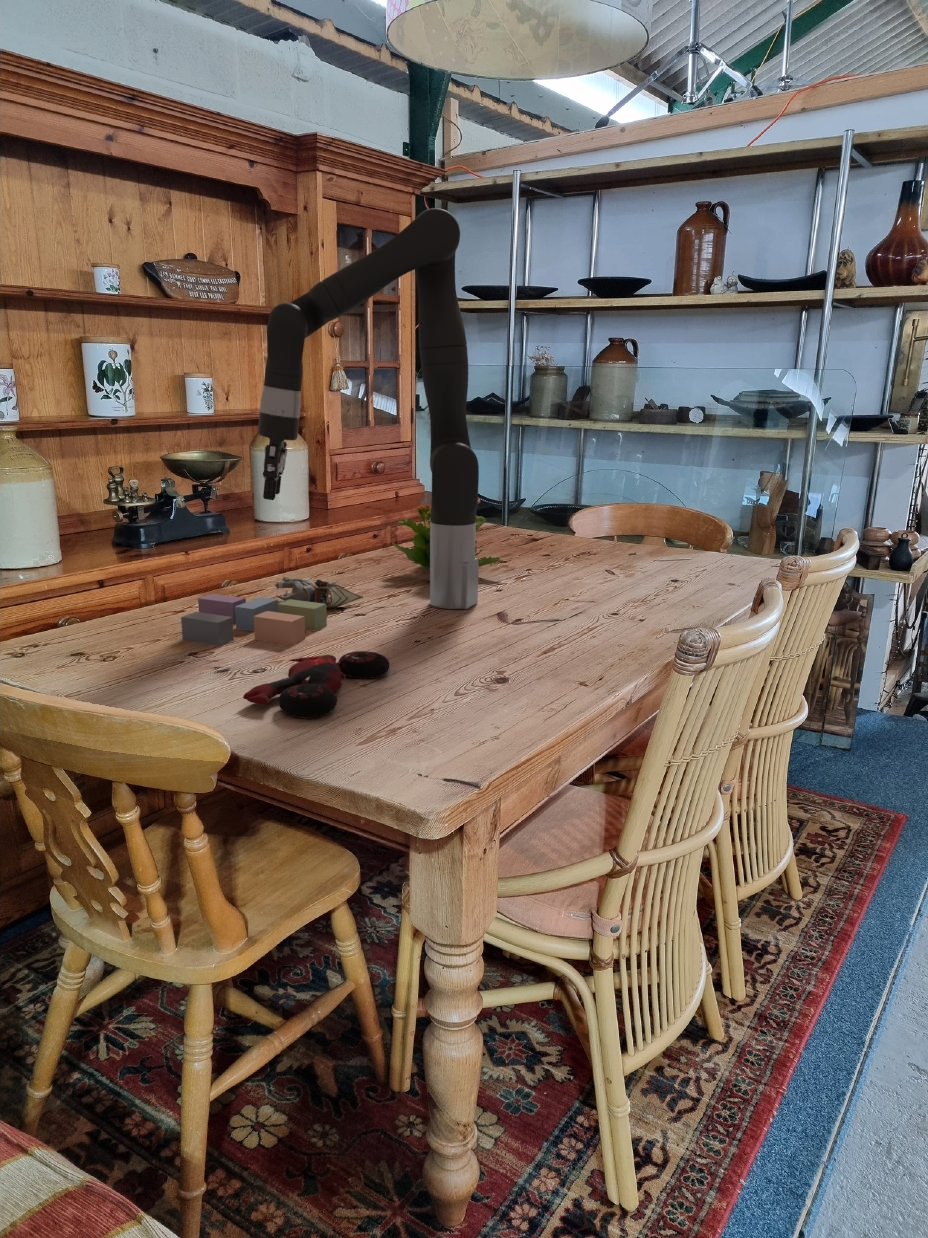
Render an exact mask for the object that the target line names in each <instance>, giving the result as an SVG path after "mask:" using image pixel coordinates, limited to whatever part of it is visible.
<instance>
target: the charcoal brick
mask: <svg viewBox="0 0 928 1238" xmlns="http://www.w3.org/2000/svg"><path fill="white" fill-rule="evenodd" d="M180 619H181V622H180V623H181V633H182V635H181V636H182V641H186V642H192V643H199V644H203V645H204V644H205V645H210V646H217V647H221V646H223V645H226V644H228V643H230V642H233V641H235V637H234V625H233V617H228V616H221V615H215V614H208V613H201V612H199V611H195V612H192V613H188V614H186V615H183V616H181V617H180Z"/></svg>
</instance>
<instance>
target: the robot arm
mask: <svg viewBox="0 0 928 1238" xmlns="http://www.w3.org/2000/svg"><path fill="white" fill-rule="evenodd" d="M460 238H461V230H460V225H459V223H458V220H457V218H455V216H454V215H453V214H452V213H451V212H449V211H448V210H447V209H446V210H445V209H442V208H437V207H435V208H434V207H432V208H428V209H425V210H423V211H422V212H420V213H419V214H418V215H417V216H416V217H415V219H414V220H413V221H411V223H409V224H408V225H406V226H405V227H404V228H403V229H402V230H401V231H400V232H399V233H397V234H396V235H395V236H393V237H392V238H390V239H389V240H388V241H387V242H385V243H384V244H382V245H381V246H379V247H377V248H376V249H375V250H373V251H371V252H369V253H367V254H366V255H364V256H362V257H361V258H359V259H357V260H355V261H353V262H352V263H350V264H348V265H347V266H345V267H342V268H340V269H339V270H337V271H336V272H334V273H332V274H330V275H329V276H327V277H326V278H324V279H322V280H320V281H319V282H317V283H316V284H315V285H313V286H312V288H310V290H308V292H306V293H305V294H302V295H300V296H299V297H296V299H294V300H292V301H289V302H282V303H279V304H277V305H275V306H274V307H273V309H272V310H271V311H270V313H269V316H268V321H267V332H266V333H267V335H266V336H267V337H266V338H267V339H266V340H267V341H266V342H267V343H266V344H267V345H266V346H267V347H266V350H267V351H266V355H267V357H266V363H265V368H264V378H263V379H264V380H263V382H264V383H263V388H262V393H261V398H260V407H259V415H258V426H257V434H258V435H259V436H260V437H265V438H268V439H269V443H268V444H266V446H265V447H264V460H263V471H262V477H263V479H264V483H263V494H262V497H263V499H264V500H268V501H274V500H275V499H276V495H279V494H280V492H281V483H282V476H283V475H284V470H285V468H286V463H287V462H286V460H287V455H288V448H287V445H288V444H287V441H296V440H297V439H298V435H299V426H300V415H301V408H302V407H301V406H302V398H301V397H302V396H301V395H302V386H303V385H302V383H303V374H304V365H303V355H304V347H305V341H306V338H308V337H310V336H311V335H313V334H314V333H316V332H317V331H318V330H319V329H321V328H323V326H325V325H327V324H328V323H330V322H332V321H333V320H337V319H338V318H340V317H341V316H343V315H345V314H347V313H349V312H350V311H352V310H354V309H355V308H357V307H358V306H360V305H362V304H363V303H365V302H367V301H368V300H369V299H370V298H372V297H373V296H375V295H376V294H378V293H379V292H380V291H382V290H383V289H384V288H385V287H387V286H388V285H390V284H391V283H393V282H394V281H396V280H398V279H399V278H401V277H402V276H404V275H406V274H408V273H410V272H412V271H414V272H415V273H414V274H415V279H416V285H417V291H418V293H417V294H418V346H419V358H420V367H421V368H420V369H421V375H422V376H421V377H422V380H423V381H422V382H423V383H422V384H423V388H424V393H425V394H424V395H425V398H426V403H427V408H428V413H429V418H430V419H429V422H430V450H429V451H430V452H429V453H430V454H429V455H430V456H429V457H430V458H429V467H430V471H431V505H430V506H431V511H430V514H431V517H430V520H431V522H430V525H431V529H430V570H429V604H430V605H431V606H432V607H434V608H438V609H447V610H448V609H449V610H460V609H463V610H468V609H469V608H472V607H473V606H474V605H476V604H478V603H479V601H478V597H479V596H478V595H479V594H478V593H479V566H478V562H479V560H478V559H479V558H478V557H476V556H475V554H476V553H475V546H476V545H475V541H476V535H477V534H476V533H477V532H476V525H477V522H476V515H477V511H478V503H479V502H478V501H479V483H480V482H479V481H480V480H479V479H480V478H479V475H480V471H479V469H480V466H479V461H478V460H479V459H478V457H477V455H476V453H475V451H474V450H473V449H472V446H471V442H470V436H469V430H468V428H469V427H468V421H467V420H468V419H467V403H468V402H467V401H468V391H469V390H468V388H469V356H468V343H467V336H466V329H465V325H464V320H463V316H462V311H461V308H460V304H459V300H458V295H457V288H456V253H457V252H456V251H457V249H458V247H459V244H460V241H461V240H460Z"/></svg>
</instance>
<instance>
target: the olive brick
mask: <svg viewBox="0 0 928 1238" xmlns="http://www.w3.org/2000/svg"><path fill="white" fill-rule="evenodd" d="M278 613H285V614H292V615H299V616H305V631H312V632H316V631H319V630H321V629H323V628H326V627H327V623H328V622H327V621H328V620H327V617H328V616H327V608H326V604H323V603H315V602H307V601H299V600H292V599H289V600H287V601H285V600H283V601H282V603H279V604H278Z"/></svg>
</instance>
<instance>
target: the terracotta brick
mask: <svg viewBox="0 0 928 1238" xmlns="http://www.w3.org/2000/svg"><path fill="white" fill-rule="evenodd" d="M253 632H254V640H259V641H265V642H270V643H271V642H272V643H279V644H282V645H283V644H285V645H289V646H290V645H291V646H294V645H295V644H298V643H300V642H302V641H304V640H306V630H305V616H299V615H292V614H285V613H278V612H271V611H266V612H263V613H261V614H258V615H256V616H254V631H253Z"/></svg>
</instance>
